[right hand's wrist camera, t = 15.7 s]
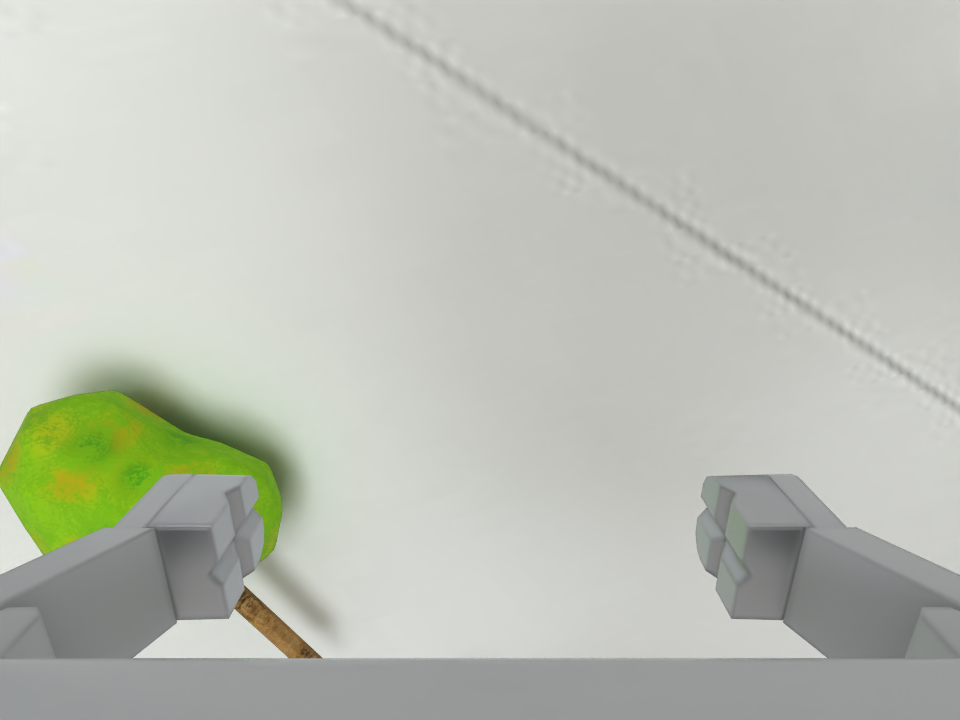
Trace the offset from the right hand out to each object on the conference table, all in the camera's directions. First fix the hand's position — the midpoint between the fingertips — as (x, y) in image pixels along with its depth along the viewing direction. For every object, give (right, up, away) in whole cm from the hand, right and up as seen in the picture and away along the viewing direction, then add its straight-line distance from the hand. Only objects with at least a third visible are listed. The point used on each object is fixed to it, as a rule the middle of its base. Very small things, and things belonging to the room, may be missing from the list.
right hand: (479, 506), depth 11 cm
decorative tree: (-22, -10, +38) cm, 45 cm away
